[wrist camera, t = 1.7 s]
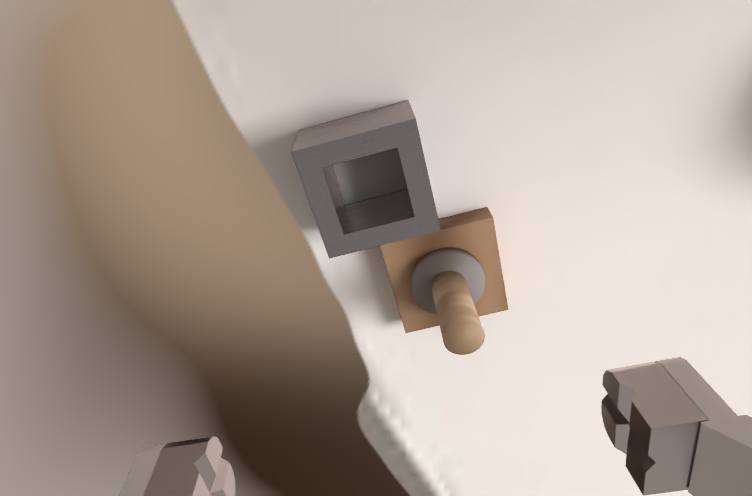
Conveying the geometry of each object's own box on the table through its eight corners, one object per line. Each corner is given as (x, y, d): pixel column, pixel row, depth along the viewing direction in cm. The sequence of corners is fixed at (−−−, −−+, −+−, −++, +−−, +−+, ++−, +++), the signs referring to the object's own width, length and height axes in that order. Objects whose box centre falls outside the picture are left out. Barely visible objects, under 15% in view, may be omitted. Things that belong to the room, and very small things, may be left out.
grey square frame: (408, 100, 28) (415, 118, 25) (431, 201, 31) (440, 230, 28) (299, 129, 29) (291, 151, 25) (332, 226, 32) (329, 258, 28)
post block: (487, 207, 32) (521, 269, 25) (502, 296, 35) (536, 372, 28) (378, 234, 32) (384, 301, 26) (404, 319, 36) (414, 398, 29)
